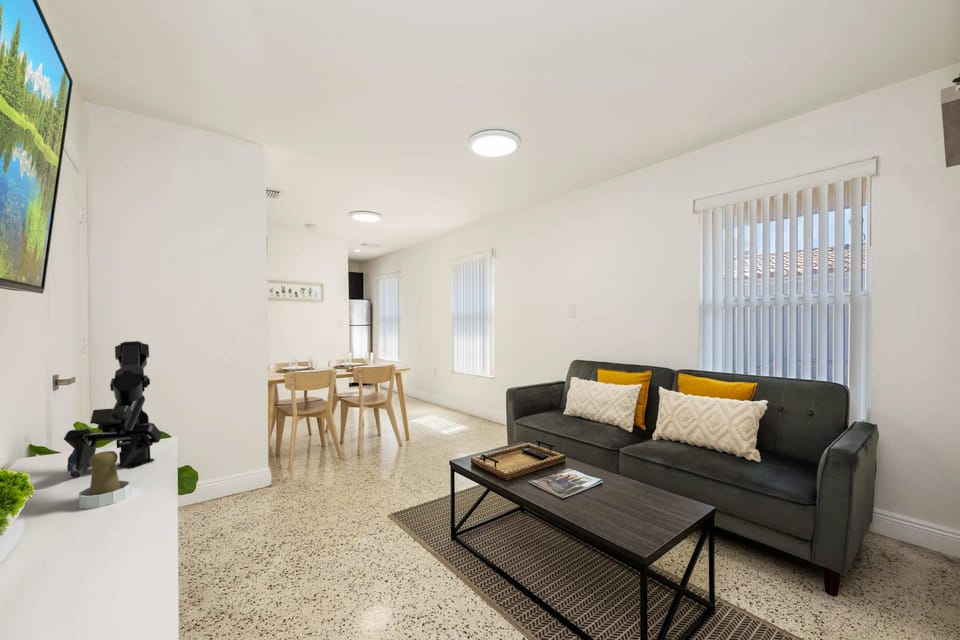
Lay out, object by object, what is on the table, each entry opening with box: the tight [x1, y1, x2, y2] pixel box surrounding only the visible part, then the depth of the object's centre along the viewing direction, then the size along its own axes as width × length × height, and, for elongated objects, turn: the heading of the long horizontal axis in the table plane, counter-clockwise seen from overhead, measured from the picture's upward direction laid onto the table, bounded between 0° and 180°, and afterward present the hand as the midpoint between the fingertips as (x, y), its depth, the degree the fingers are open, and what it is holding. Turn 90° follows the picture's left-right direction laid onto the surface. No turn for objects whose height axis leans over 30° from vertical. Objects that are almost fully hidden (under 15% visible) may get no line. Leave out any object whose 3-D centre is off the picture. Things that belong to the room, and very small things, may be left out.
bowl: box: [78, 479, 132, 510], centre depth 102 cm, size 9×9×3 cm
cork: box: [89, 450, 121, 496], centre depth 102 cm, size 6×6×11 cm
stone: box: [66, 446, 97, 477], centre depth 118 cm, size 14×6×10 cm, turn 44°
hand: (100, 467), depth 100 cm, fingers open, 9 cm apart
